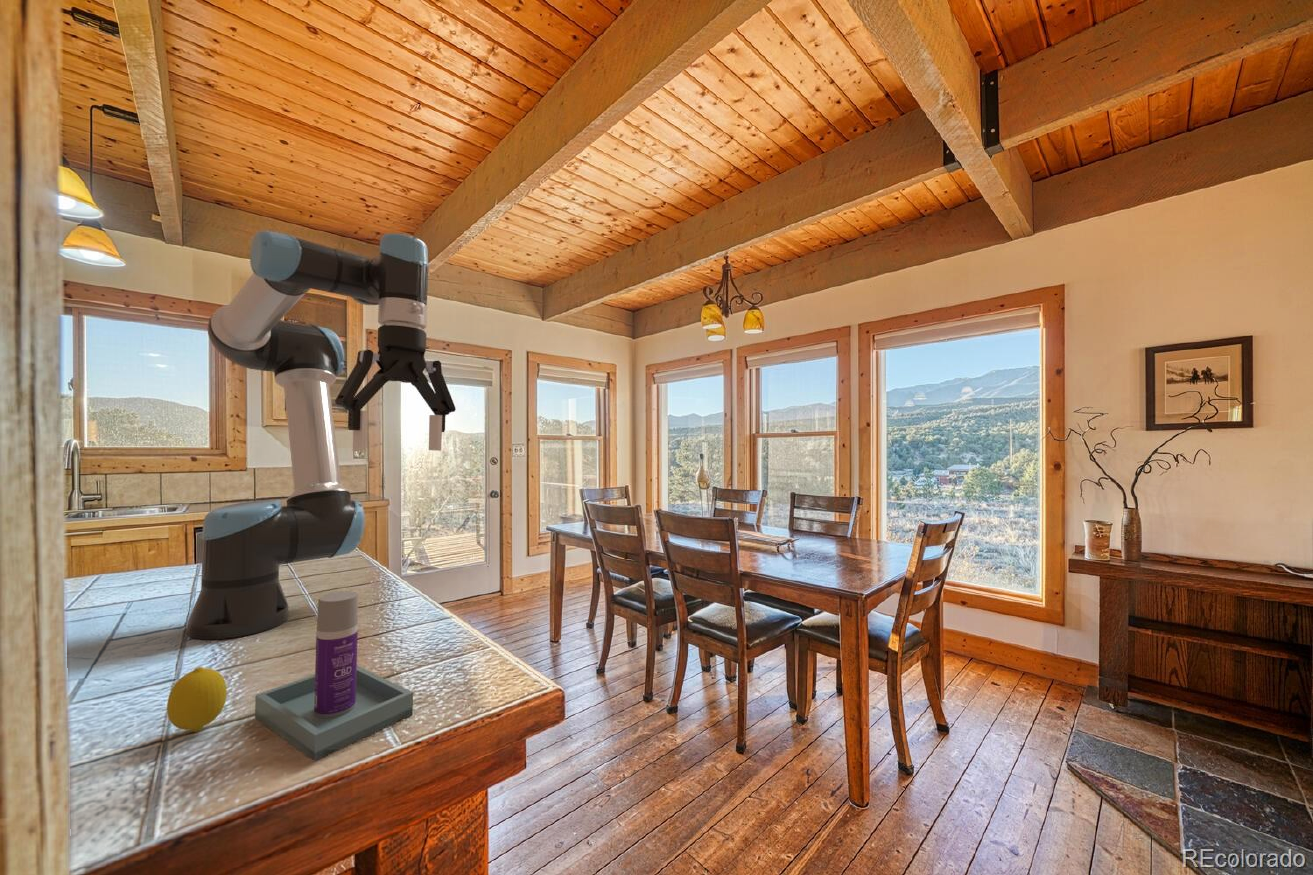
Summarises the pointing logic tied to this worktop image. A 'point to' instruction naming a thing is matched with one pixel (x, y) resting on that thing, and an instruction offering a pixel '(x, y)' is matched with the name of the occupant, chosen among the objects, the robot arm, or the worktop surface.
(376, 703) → the tray
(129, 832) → the worktop surface
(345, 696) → the container
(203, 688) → the lemon
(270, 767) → the worktop surface
